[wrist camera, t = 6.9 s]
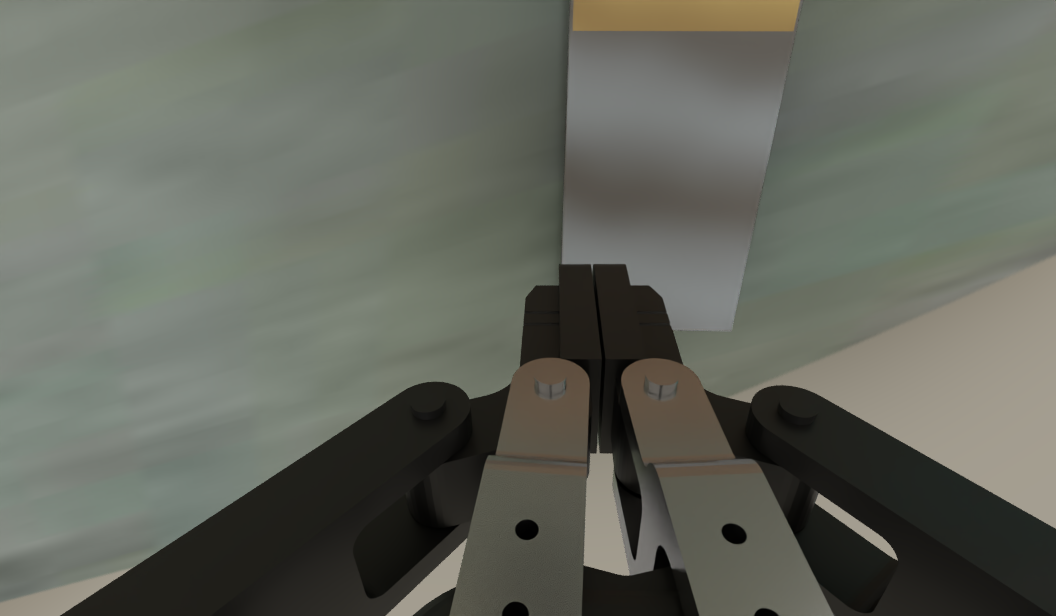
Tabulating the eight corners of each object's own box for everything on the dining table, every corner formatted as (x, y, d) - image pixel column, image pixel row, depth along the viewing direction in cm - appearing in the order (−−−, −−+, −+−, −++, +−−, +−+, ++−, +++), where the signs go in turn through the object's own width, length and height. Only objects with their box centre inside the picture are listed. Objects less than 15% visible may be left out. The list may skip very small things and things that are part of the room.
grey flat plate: (570, -15, 21) (571, -14, 19) (789, -15, 21) (806, -15, 19) (559, 310, 28) (559, 327, 27) (722, 313, 28) (731, 331, 26)
